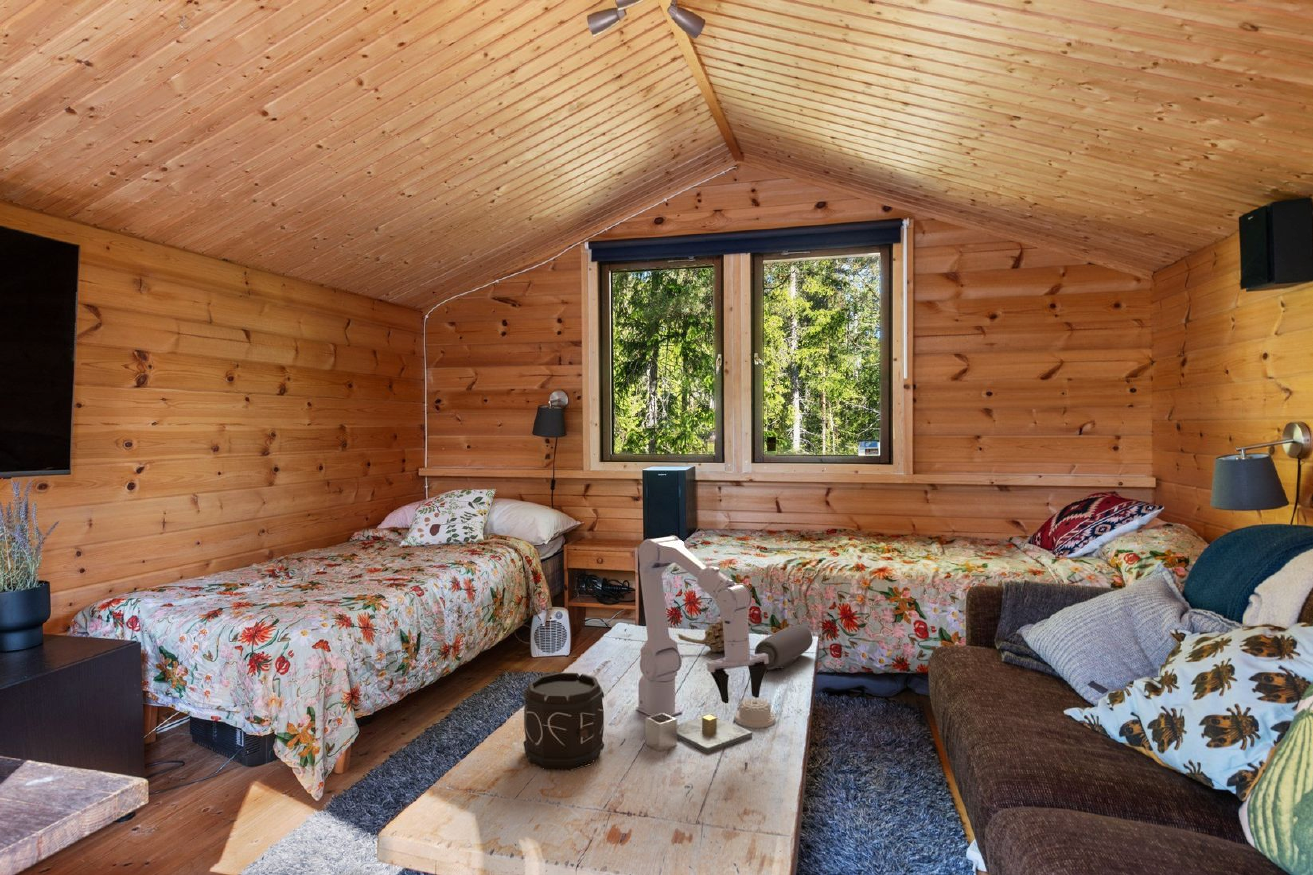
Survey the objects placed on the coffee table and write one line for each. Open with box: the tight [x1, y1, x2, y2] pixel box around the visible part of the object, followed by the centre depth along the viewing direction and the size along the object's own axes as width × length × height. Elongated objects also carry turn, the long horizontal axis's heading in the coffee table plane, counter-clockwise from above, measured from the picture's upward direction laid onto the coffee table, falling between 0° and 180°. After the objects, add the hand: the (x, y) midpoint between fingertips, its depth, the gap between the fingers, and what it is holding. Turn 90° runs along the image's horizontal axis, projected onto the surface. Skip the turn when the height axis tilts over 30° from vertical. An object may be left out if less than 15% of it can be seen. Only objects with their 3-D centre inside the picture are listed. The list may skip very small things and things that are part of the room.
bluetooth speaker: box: [754, 623, 814, 670], centre depth 231 cm, size 23×9×10 cm, turn 144°
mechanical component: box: [734, 697, 776, 729], centre depth 187 cm, size 10×4×10 cm
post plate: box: [677, 713, 753, 754], centre depth 178 cm, size 14×14×4 cm
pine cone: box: [676, 619, 725, 653], centre depth 242 cm, size 22×10×10 cm, turn 98°
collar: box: [645, 713, 678, 752], centre depth 173 cm, size 5×5×6 cm
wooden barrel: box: [522, 672, 605, 771], centre depth 167 cm, size 18×18×16 cm
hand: (740, 699), depth 173 cm, fingers open, 7 cm apart
